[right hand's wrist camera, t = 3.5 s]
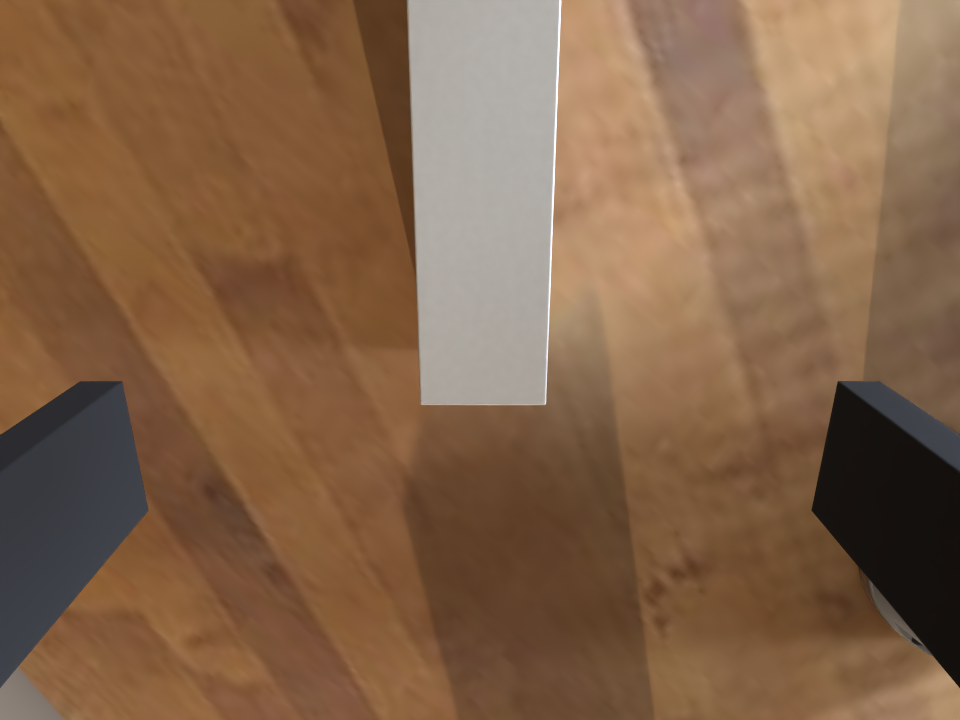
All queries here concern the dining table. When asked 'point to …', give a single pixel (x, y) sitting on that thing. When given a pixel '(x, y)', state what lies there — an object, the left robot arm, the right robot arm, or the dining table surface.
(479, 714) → the dining table surface
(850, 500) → the right robot arm
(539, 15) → the post
